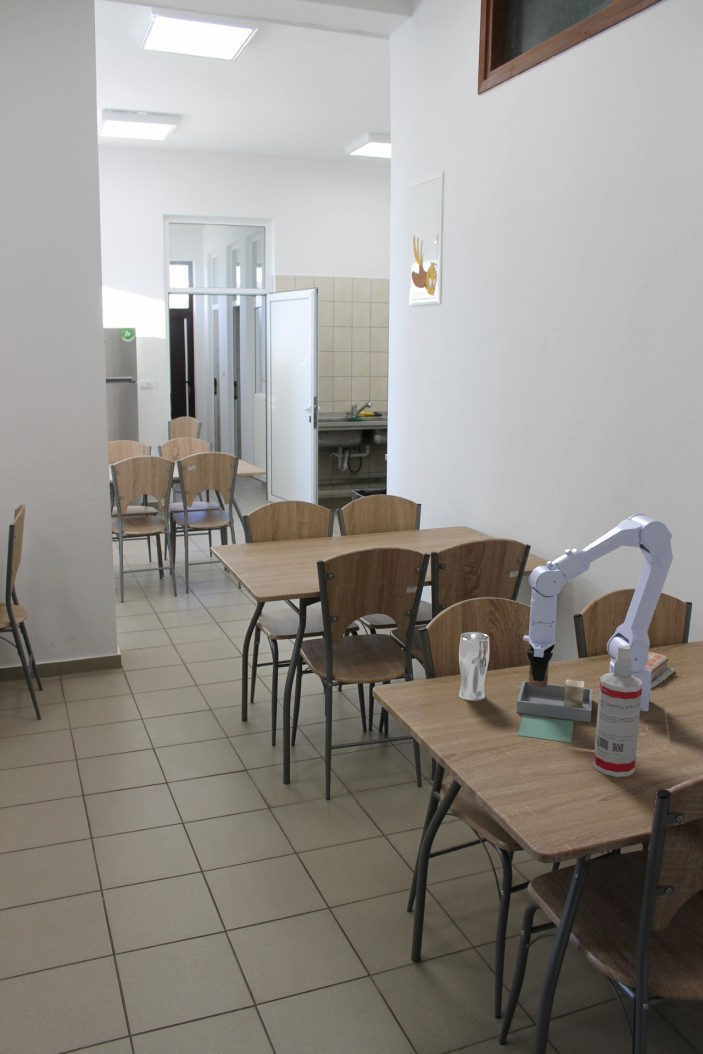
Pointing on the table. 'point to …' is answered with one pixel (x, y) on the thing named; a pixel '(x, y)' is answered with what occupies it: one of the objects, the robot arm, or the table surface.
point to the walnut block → (538, 683)
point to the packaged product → (658, 668)
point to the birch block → (574, 693)
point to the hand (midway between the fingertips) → (539, 676)
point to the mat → (546, 728)
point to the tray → (552, 702)
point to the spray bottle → (618, 718)
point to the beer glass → (473, 665)
